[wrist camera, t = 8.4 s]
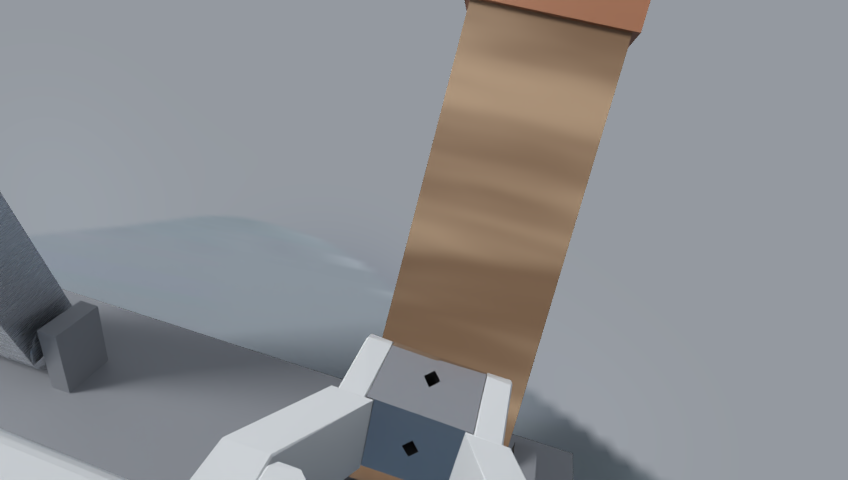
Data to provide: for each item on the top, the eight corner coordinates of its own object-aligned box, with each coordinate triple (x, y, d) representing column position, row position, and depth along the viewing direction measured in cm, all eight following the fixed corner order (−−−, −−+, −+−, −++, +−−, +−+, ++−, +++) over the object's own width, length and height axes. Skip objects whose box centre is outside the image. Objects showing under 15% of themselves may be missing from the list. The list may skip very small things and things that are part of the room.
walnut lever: (485, 544, 17) (666, -52, 15) (335, 491, 18) (484, -87, 15) (488, 495, 20) (640, -13, 17) (358, 451, 21) (487, -44, 18)
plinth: (546, 710, 17) (611, 625, 14) (-190, 425, 20) (-266, 309, 17) (552, 494, 24) (596, 406, 21) (0, 310, 27) (-31, 212, 24)
